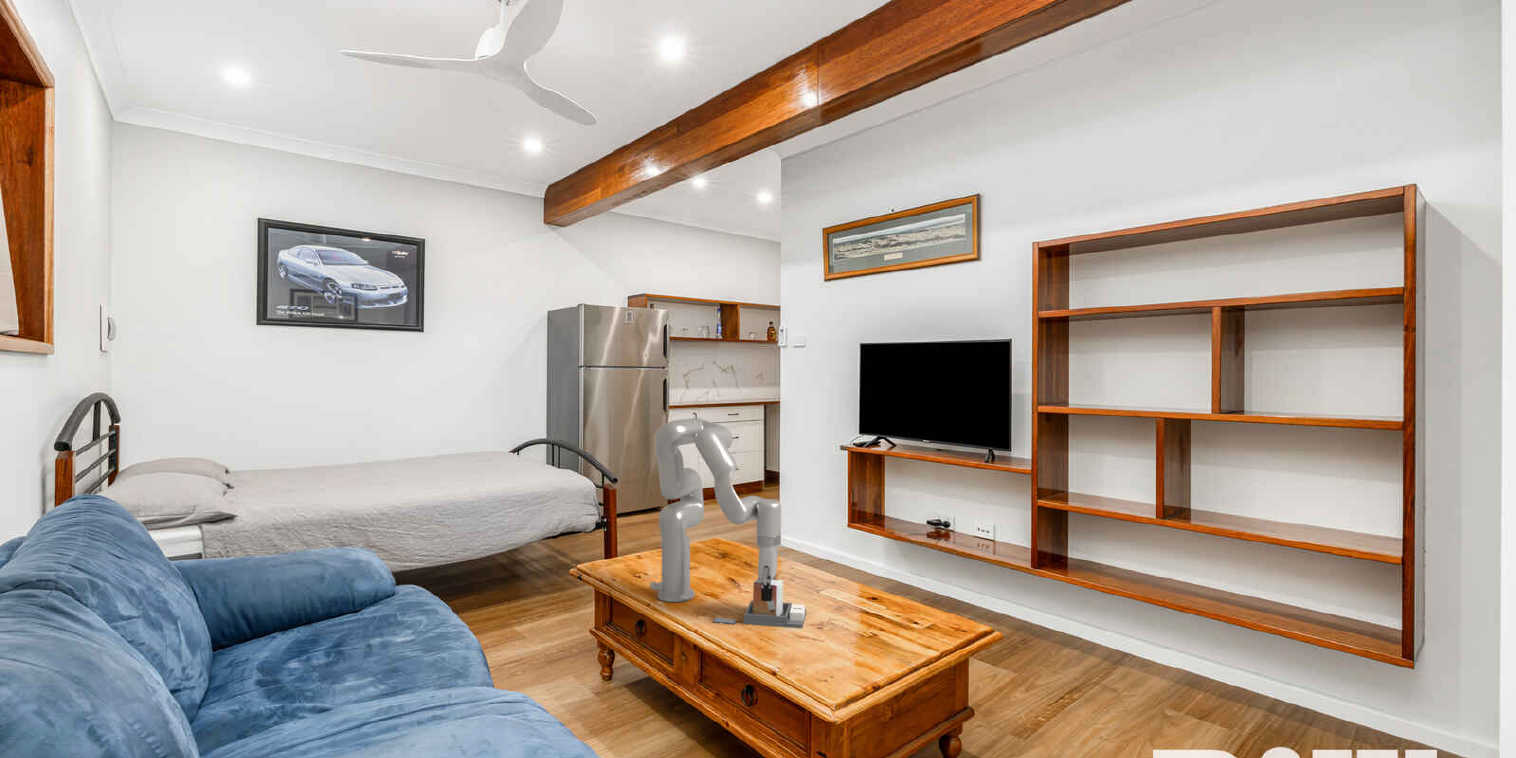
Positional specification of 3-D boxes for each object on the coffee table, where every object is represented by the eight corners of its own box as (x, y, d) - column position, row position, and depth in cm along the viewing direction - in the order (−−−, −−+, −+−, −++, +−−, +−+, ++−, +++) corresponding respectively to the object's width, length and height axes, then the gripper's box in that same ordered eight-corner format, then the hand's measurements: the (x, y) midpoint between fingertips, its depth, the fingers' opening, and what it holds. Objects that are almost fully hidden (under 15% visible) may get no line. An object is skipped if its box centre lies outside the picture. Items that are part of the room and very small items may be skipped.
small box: (752, 615, 210) (752, 581, 209) (759, 609, 215) (759, 576, 215) (776, 619, 206) (776, 585, 206) (783, 613, 212) (783, 580, 211)
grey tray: (743, 624, 206) (743, 612, 205) (750, 608, 218) (750, 597, 218) (802, 628, 203) (802, 616, 202) (806, 612, 215) (806, 601, 215)
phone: (712, 624, 207) (712, 621, 207) (715, 620, 210) (715, 617, 210) (734, 626, 205) (734, 623, 205) (737, 622, 208) (737, 619, 208)
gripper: (761, 532, 219) (761, 585, 220) (752, 547, 202) (751, 605, 203) (784, 533, 218) (784, 587, 219) (777, 548, 201) (776, 606, 201)
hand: (768, 595), depth 211 cm, fingers open, 8 cm apart
